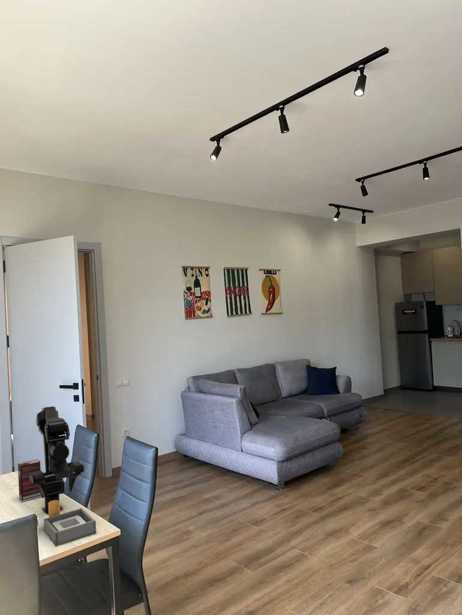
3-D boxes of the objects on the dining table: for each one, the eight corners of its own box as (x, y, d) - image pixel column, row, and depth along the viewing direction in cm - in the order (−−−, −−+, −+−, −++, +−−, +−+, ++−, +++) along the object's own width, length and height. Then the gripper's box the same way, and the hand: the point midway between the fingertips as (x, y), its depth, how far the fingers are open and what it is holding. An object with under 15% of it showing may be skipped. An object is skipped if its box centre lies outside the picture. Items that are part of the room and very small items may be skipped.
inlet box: (44, 531, 164) (43, 518, 165) (82, 519, 173) (81, 508, 173) (55, 546, 152) (55, 533, 153) (96, 533, 161) (95, 520, 161)
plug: (47, 523, 171) (47, 501, 172) (58, 519, 174) (57, 499, 174) (50, 526, 168) (50, 505, 169) (61, 523, 171) (60, 502, 171)
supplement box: (39, 494, 202) (37, 458, 203) (42, 497, 198) (40, 461, 199) (18, 499, 197) (17, 463, 197) (21, 502, 193) (19, 465, 194)
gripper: (36, 465, 157) (37, 509, 157) (88, 453, 169) (90, 494, 169) (28, 457, 166) (29, 499, 166) (78, 446, 178) (79, 486, 178)
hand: (58, 494), depth 170 cm, fingers open, 9 cm apart
